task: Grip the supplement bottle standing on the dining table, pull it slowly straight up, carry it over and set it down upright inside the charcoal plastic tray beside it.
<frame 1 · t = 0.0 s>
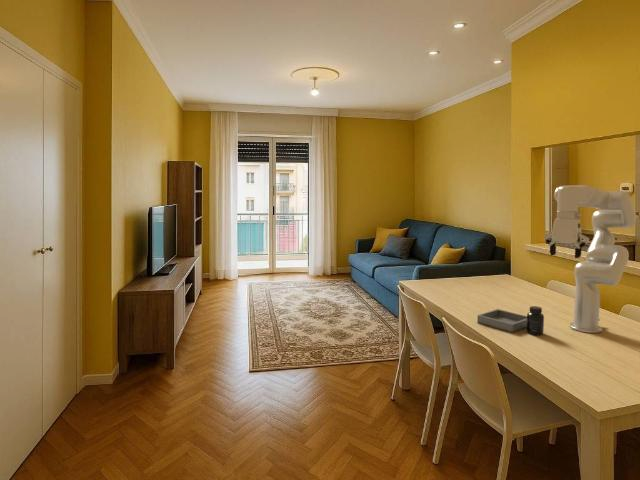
hand: (564, 256, 170), 37 cm above the table, tool pointing down, fingers open, 9 cm apart
tray: (504, 324, 196), on the table
supplement bottle: (534, 333, 183), on the table
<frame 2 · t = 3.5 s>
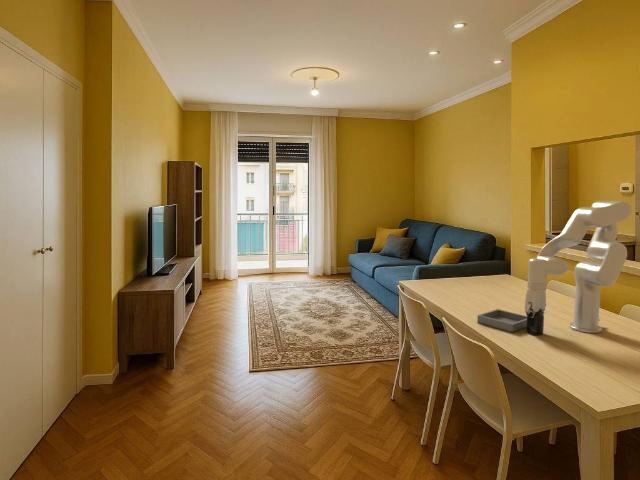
hand: (535, 323, 183), 4 cm above the table, tool pointing down, fingers closed on supplement bottle, 6 cm apart
supplement bottle: (534, 333, 183), on the table, touching gripper
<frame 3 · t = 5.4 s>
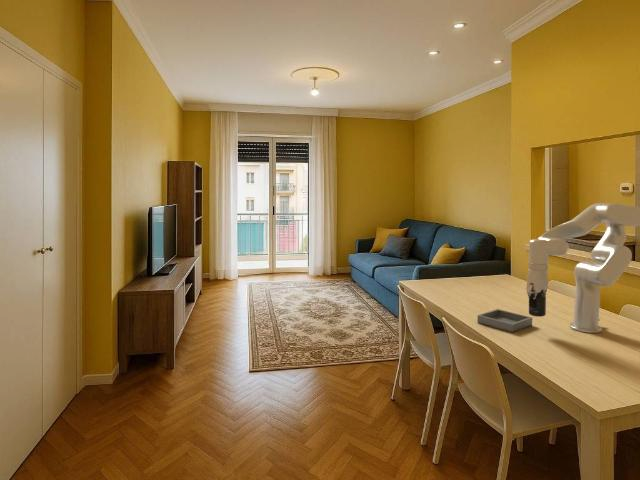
hand: (537, 305, 182), 13 cm above the table, tool pointing down, fingers closed on supplement bottle, 6 cm apart
supplement bottle: (537, 315, 182), point 8 cm above the table, touching gripper
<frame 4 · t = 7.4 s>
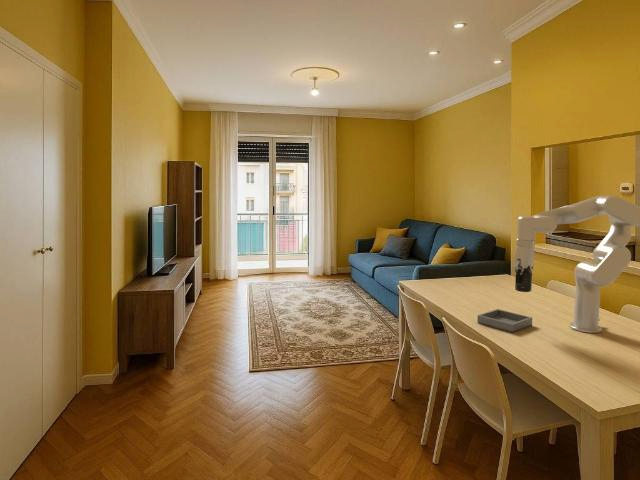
hand: (523, 281, 185), 23 cm above the table, tool pointing down, fingers closed on supplement bottle, 6 cm apart
supplement bottle: (523, 290, 186), point 18 cm above the table, touching gripper
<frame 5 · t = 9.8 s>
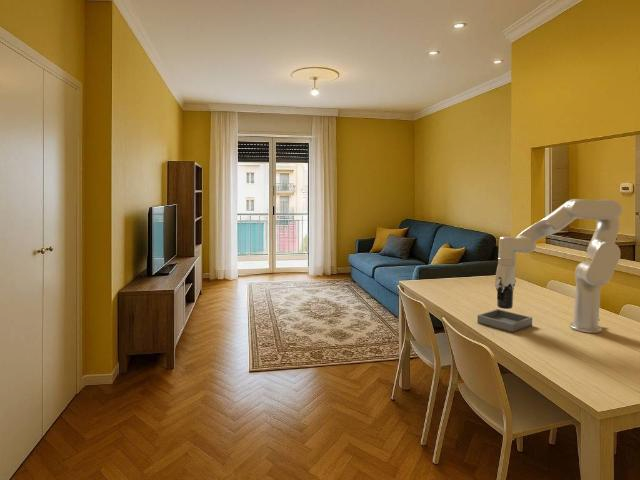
hand: (505, 298, 194), 13 cm above the table, tool pointing down, fingers closed on supplement bottle, 6 cm apart
supplement bottle: (504, 307, 195), point 8 cm above the table, touching gripper
when the fingers open (7 cm above the table, at t = 11.6 s): supplement bottle drops 1 cm, resting on tray.
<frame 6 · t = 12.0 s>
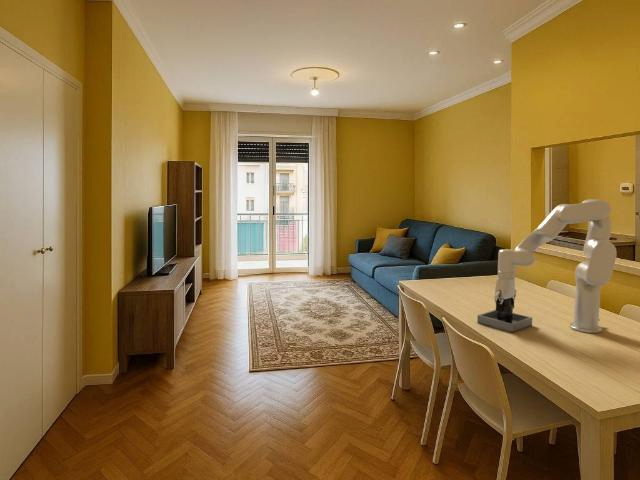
hand: (504, 309, 195), 7 cm above the table, tool pointing down, fingers open, 9 cm apart
supplement bottle: (504, 323, 195), point 1 cm above the table, touching tray
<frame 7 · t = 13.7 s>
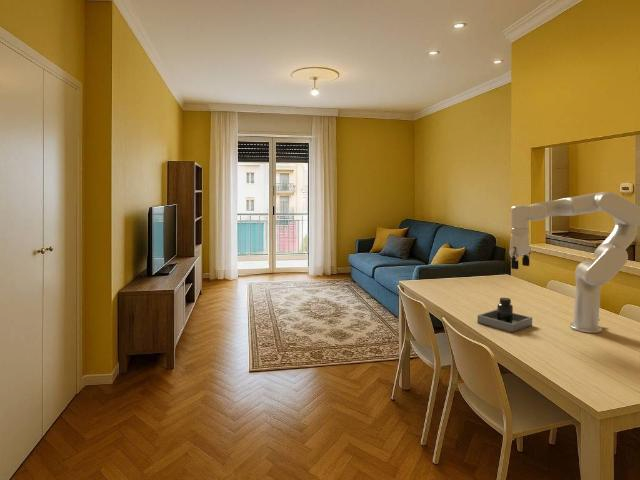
hand: (520, 267, 192), 28 cm above the table, tool pointing down, fingers open, 9 cm apart
nothing on the table moved.
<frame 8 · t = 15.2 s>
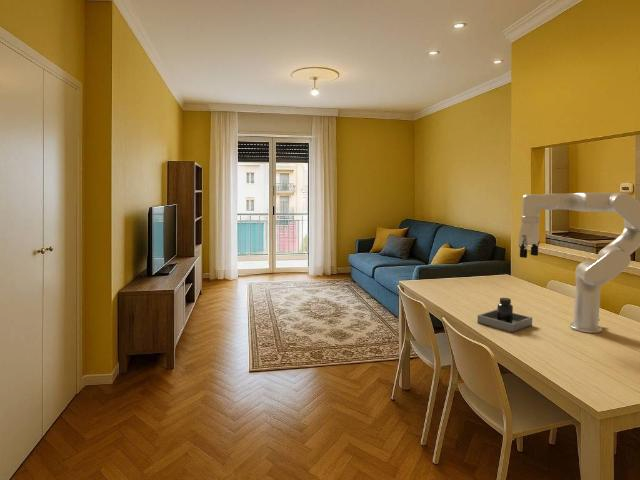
hand: (528, 256, 191), 33 cm above the table, tool pointing down, fingers open, 9 cm apart
nothing on the table moved.
at the end: supplement bottle inside the target area on the tray (0.2 cm from its centre), point 0.6 cm above the tray's base; supplement bottle tilted 0°; the gripper is holding nothing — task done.
